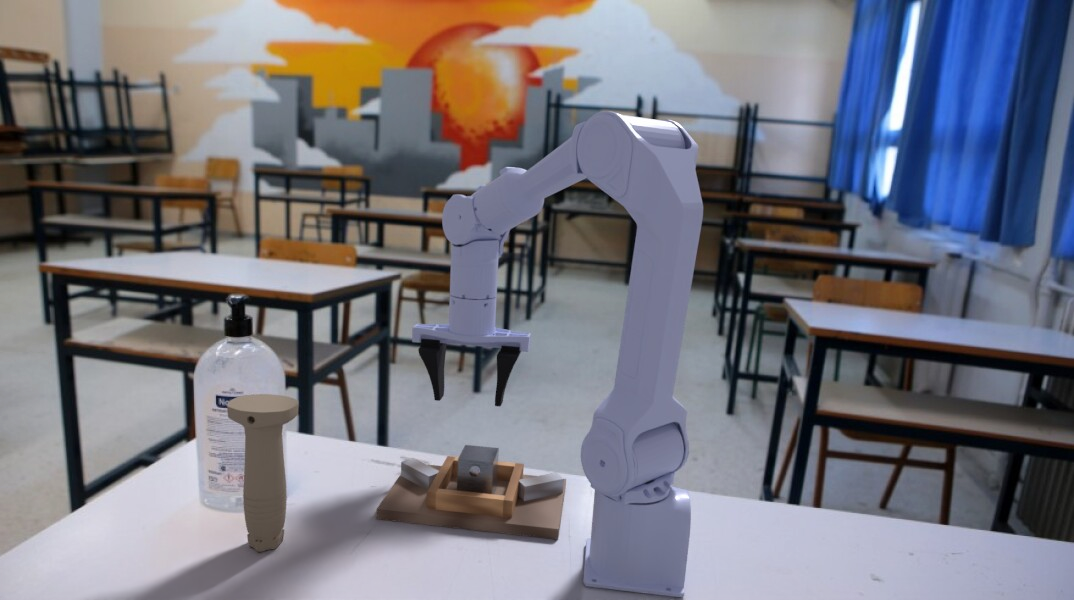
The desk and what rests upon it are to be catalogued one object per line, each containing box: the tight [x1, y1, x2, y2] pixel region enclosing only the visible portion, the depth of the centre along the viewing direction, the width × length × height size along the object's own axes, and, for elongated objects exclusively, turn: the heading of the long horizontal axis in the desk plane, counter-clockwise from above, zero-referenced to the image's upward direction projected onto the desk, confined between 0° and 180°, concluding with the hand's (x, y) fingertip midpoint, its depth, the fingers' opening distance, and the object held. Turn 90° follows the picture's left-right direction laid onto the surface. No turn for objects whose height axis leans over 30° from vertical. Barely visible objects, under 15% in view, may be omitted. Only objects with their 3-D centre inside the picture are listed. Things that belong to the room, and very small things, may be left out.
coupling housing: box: [375, 455, 567, 540], centre depth 79 cm, size 20×12×3 cm, turn 84°
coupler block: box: [457, 444, 500, 494], centre depth 78 cm, size 4×5×5 cm
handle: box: [226, 393, 299, 553], centre depth 67 cm, size 5×6×15 cm
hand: (468, 400), depth 85 cm, fingers open, 7 cm apart
